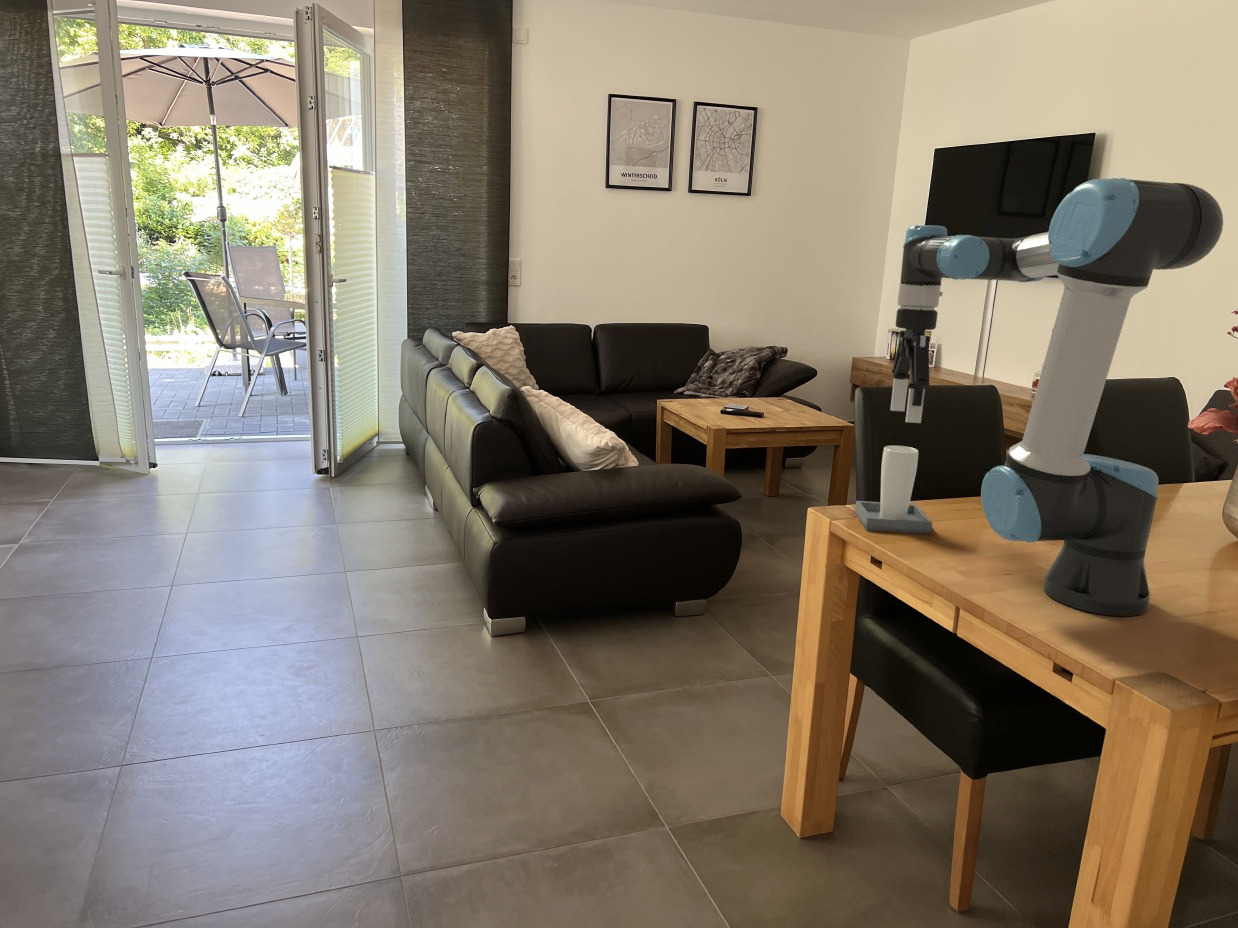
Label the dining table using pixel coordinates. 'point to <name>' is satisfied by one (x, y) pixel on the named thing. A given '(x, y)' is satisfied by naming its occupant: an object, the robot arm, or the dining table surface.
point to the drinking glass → (897, 481)
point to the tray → (873, 522)
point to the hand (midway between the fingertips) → (904, 416)
